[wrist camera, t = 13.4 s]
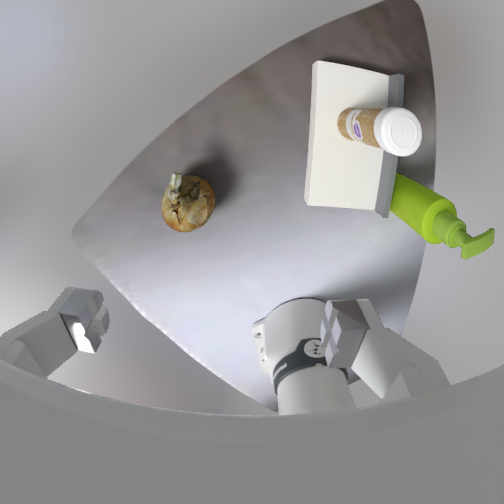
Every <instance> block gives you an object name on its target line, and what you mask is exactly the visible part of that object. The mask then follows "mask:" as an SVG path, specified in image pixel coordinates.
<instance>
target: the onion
mask: <svg viewBox="0 0 504 504" xmlns="http://www.w3.org/2000/svg"><path fill="white" fill-rule="evenodd" d="M214 208H215V194H214V191H213V189H212V187H211V186H210V184H209V183H208V182H207V181H206V180H205V179H203V178H201V177H197V176H191V175H188V176H182V174H181V173H172V177H171V181H170V183H169V185H168V187H167V189H166V190H165V192H164V195H163V198H162V215H163V218H164V220H165V222H166V223H167V225H169V227H171V228H172V229H174V230H176V231H179V232H190V231H193V230H195V229H197V228H200V227H201V226H203V225H204V224H205V223H206V222H207V220H208V219H209V218H210V216H211V214H212V212H213V210H214Z"/></svg>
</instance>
